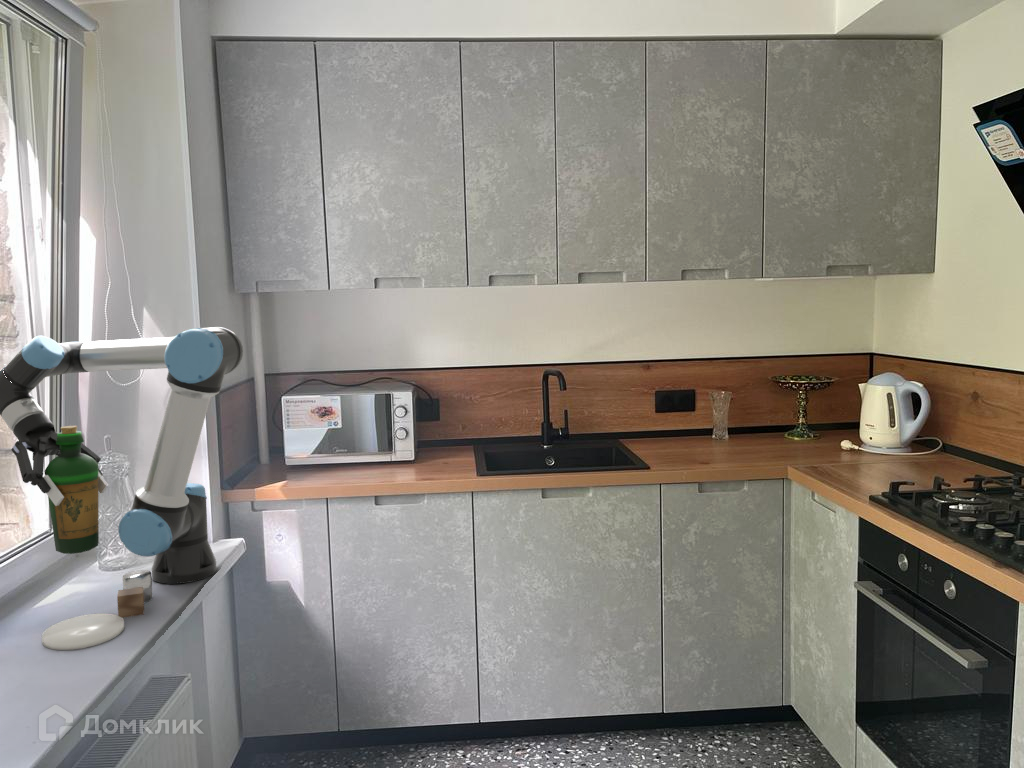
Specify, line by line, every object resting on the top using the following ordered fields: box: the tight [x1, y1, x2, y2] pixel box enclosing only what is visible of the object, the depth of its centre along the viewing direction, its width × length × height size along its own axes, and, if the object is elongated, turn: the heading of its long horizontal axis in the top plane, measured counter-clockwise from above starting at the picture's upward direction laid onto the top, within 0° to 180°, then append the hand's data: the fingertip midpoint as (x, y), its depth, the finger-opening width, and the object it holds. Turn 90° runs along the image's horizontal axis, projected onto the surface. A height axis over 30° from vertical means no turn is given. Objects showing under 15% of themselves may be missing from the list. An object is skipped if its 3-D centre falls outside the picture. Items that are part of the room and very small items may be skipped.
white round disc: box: [41, 613, 125, 651], centre depth 161 cm, size 15×15×1 cm
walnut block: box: [116, 587, 145, 619], centre depth 172 cm, size 5×4×5 cm
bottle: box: [44, 425, 100, 555], centre depth 174 cm, size 11×11×28 cm
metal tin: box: [122, 569, 154, 604], centre depth 179 cm, size 6×6×6 cm
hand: (83, 495), depth 173 cm, fingers closed on bottle, 11 cm apart
